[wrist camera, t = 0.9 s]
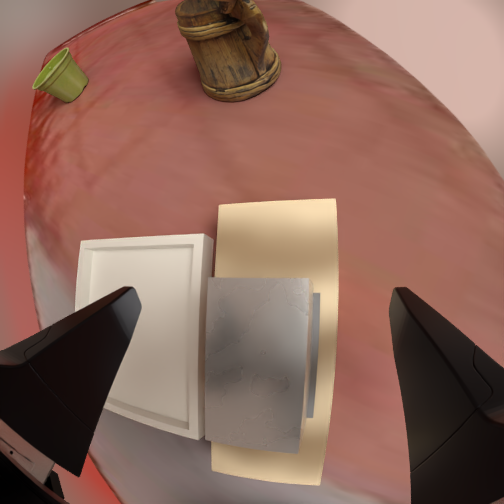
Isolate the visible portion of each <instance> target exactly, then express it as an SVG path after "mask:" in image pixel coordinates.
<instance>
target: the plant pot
mask: <svg viewBox="0 0 504 504" xmlns="http://www.w3.org/2000/svg"><path fill="white" fill-rule="evenodd" d="M87 83H88V78H87V77H86V75H85V74H84V73H83V71H82V70H81V69H80V68H79V66H78V65H77V64H76V62H75V61H74V60H73V58H72V56H71V54H70V53H69V48H65V49H63V50H62V51H60V52H59V53H58V54H57V55H56V56H55V57H54V58H53V59H52V60H51V61H50V62H49V63H48V64H47V65H46V66H45V67H44V69H43V70H42V71H41V73H40V74H39V75H38V77H37V79H36V80H35V82H34V84H33V89H34V90H36V89H38V90H40V91H45V92H47V93H49V94H51V95H53V96H55V97H57V98H59V99H61V100H63V101H64V102H66V103H68V102H72V101H73V100H74V99H76V98H77V97H78V96H79V95H80V94H81V92H82V91H83V88H84V86H86V85H87Z"/></svg>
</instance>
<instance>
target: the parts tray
mask: <svg viewBox="0 0 504 504" xmlns="http://www.w3.org/2000/svg"><path fill="white" fill-rule="evenodd" d="M213 244H214V239H212V238H210V237H209V236H207V235H205V234H185V235H166V236H148V237H131V238H115V239H100V240H86V241H81V245H80V253H79V262H78V271H77V283H76V299H75V312H76V311H78V310H80V309H82V308H84V307H86V306H87V305H89V304H91V303H93V302H95V301H97V300H99V299H100V298H102V297H104V296H106V295H108V294H110V293H112V292H114V291H116V290H118V289H119V288H121V287H123V286H132V287H134V288H135V289H136V292H137V294H138V297H139V299H140V302H141V305H142V309H141V313H140V315H139V318H138V321H137V324H136V327H135V330H134V333H133V336H132V339H131V342H130V344H129V347H128V349H127V351H126V353H125V356H124V358H123V360H122V363H121V365H120V367H119V370H118V372H117V375H116V377H115V379H114V382H113V384H112V387H111V389H110V392H109V394H108V397H107V399H106V402H105V405H104V407H103V408H105V409H107V410H110V411H112V412H114V413H117V414H119V415H122V416H124V417H127V418H129V419H132V420H135V421H137V422H140V423H143V424H146V425H149V426H152V427H155V428H158V429H161V430H164V431H167V432H170V433H174V434H177V435H181V436H184V437H188V438H192V439H196V440H199V439H200V438H202V437H203V436H204V435H205V344H206V313H207V290H208V277H212V261H213Z"/></svg>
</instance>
